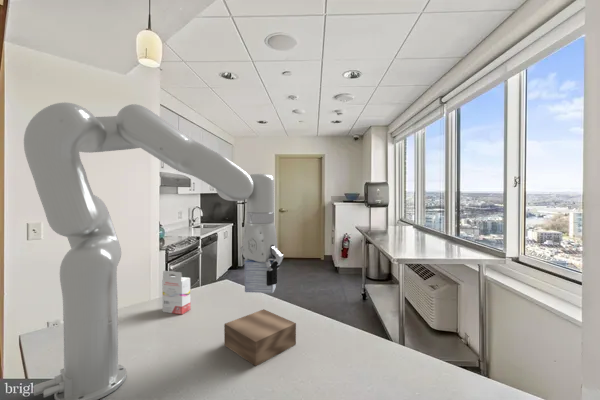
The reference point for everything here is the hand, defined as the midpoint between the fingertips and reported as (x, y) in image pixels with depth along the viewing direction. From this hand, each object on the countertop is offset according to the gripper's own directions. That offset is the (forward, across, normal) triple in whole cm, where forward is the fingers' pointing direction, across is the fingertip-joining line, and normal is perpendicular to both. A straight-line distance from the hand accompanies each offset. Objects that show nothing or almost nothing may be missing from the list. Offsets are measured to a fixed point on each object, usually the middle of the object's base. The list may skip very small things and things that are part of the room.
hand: (260, 280), depth 79 cm
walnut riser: (+18, 0, 0) cm, 18 cm away
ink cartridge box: (+18, -40, -6) cm, 44 cm away
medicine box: (+3, 0, 0) cm, 3 cm away
